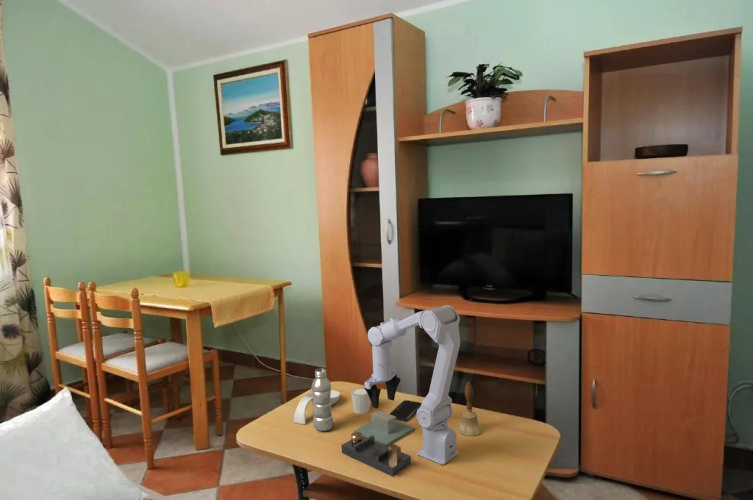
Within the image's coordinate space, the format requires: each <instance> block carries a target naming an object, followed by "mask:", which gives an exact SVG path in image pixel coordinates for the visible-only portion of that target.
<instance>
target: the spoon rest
mask: <svg viewBox="0 0 753 500" xmlns="http://www.w3.org/2000/svg"><path fill="white" fill-rule="evenodd" d="M340 397H341V392H339V391H338V390H335V389H331V396H330V405H331V406H333V405H334V404H336V403H337V401H338V400H340ZM310 402H311V403H312V404H313V405H314V398H313V393H312V391H311V392H309V393H307V394H306V395H305V396H303V397H302V398H301V400H300V401H299V403H298V404H297V407H296V408H295V411H294V413H293V414H294V416H293V423H294V424H299V425H306V410H307V407H308V405H309V403H310Z"/></svg>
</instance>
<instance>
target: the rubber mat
mask: <svg viewBox="0 0 753 500" xmlns="http://www.w3.org/2000/svg"><path fill="white" fill-rule="evenodd" d="M415 428H416V427H414V426H411V425H409V424H406V423H403V422H402V421H397V420H396V430H395V431H394V432H392V433H390V434H385V433H383V432H380V431H377V430H375V429H372V422H371V421H370V422H368V423H366V424H364V425H362V426H360V427H357V428H356V429H355V430H353V433H354V432H360V433H362V436H364V437H366V438H368V437H370V436H372V435H373V436H374V437H375V441H376V442H378V443H381V444H383V445H386V446H388V447H389V446H390V445H392V444H394V443H395V442H397V441H399V440H400V439H402V438H403V437H405V436H407V435H409V434H410V433H412V432H414V431H415Z"/></svg>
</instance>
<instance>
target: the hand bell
mask: <svg viewBox="0 0 753 500" xmlns="http://www.w3.org/2000/svg"><path fill="white" fill-rule="evenodd" d="M465 383H466V384H465V386H464V396H465V399H466V411H464V412H463V413H462V416H461V417H462V419H461V422H460V424H459V425H458V426H457V428H456V431H457V432H458V433H459V434H461V435H462V436H467V437H477V436H480V435H481V434H482V433H484V428H483V427H482V425H481V424H480V423H479V420H478V415H477V413H476V412H474V411H473V405H472V404H473V402H472V401H473V397H474V389H473V386H472V382H471V381H466V382H465Z"/></svg>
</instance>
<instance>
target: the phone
mask: <svg viewBox="0 0 753 500" xmlns="http://www.w3.org/2000/svg"><path fill="white" fill-rule="evenodd" d="M421 404H422V402H419V401H414V400H413V401H412V400H407V399H405V400H403V401H402V402H400V404H398V405H397V406H396V407H395V408H393V409H392V411H390V413H389V414H390V415H393V416H396V421H398V422H401V423H403V422H404V423H408V422H409V421H410V420H411V419H412V418H413V417H414V416H416V415H417V410H418V409H419V408H420V407H421Z"/></svg>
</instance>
